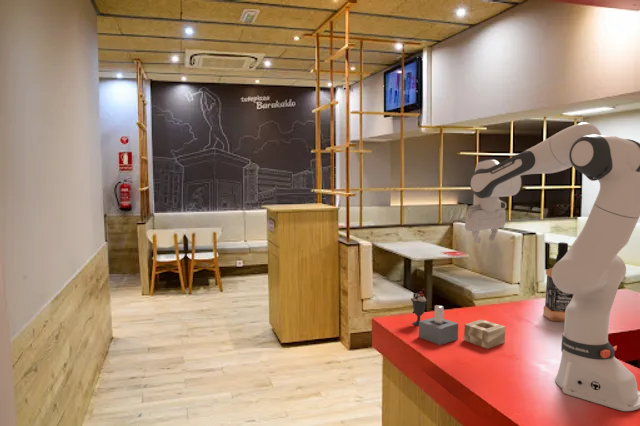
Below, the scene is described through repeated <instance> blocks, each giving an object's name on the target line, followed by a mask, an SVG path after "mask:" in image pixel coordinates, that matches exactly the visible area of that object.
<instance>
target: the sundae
mask: <svg viewBox="0 0 640 426" xmlns="http://www.w3.org/2000/svg"><path fill="white" fill-rule="evenodd" d="M423 291H424V288H422V289H421V290H420V291H419V292H413V297H412V298H410V301H411V302H412V307H413V308H412V309H413V310H412V311H413V313H414V314H415V315H416V317H417V320H416V321H413V322H412V323H411V324H412V325H413V326H416V327H419V321H421V316H422V315H424V314H425V310H426V304H427V302H428V301H429V300H428V299H426V297H425V296H424V293H423Z"/></svg>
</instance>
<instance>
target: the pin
mask: <svg viewBox="0 0 640 426" xmlns="http://www.w3.org/2000/svg"><path fill="white" fill-rule="evenodd" d="M444 310H445V309H444V306H443V305H440V304H439V305H437V304H436V305H434V324H436V325H439V326H440V325H443V319H444Z"/></svg>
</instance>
